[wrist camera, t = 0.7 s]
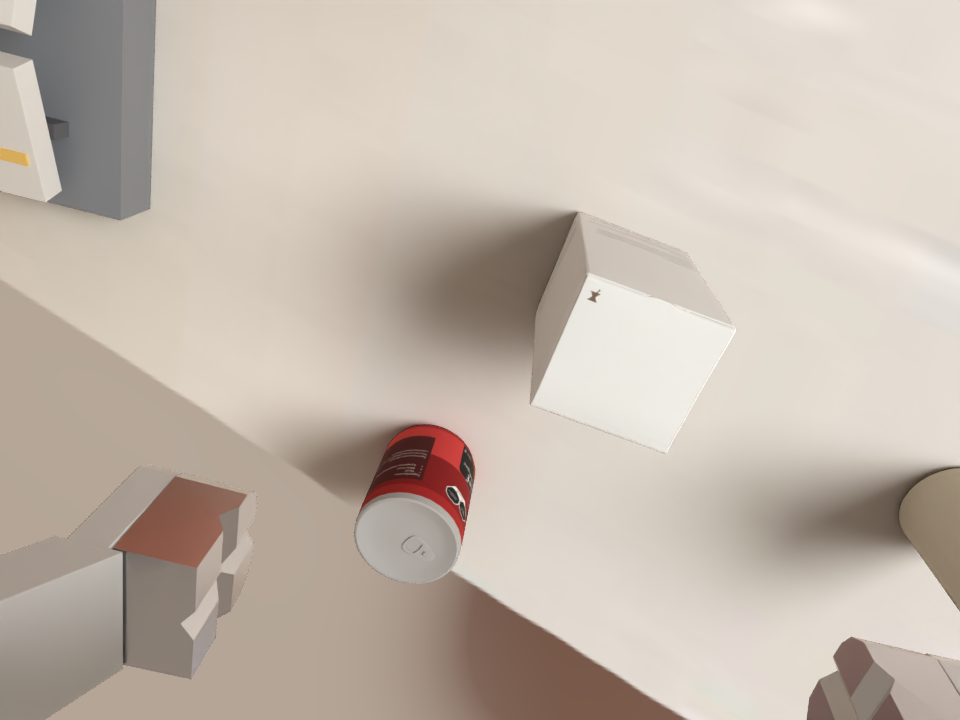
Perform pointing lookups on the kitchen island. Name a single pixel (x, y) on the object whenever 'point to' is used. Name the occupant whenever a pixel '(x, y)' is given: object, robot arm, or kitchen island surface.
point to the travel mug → (936, 526)
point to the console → (95, 98)
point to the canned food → (417, 506)
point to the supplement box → (625, 334)
